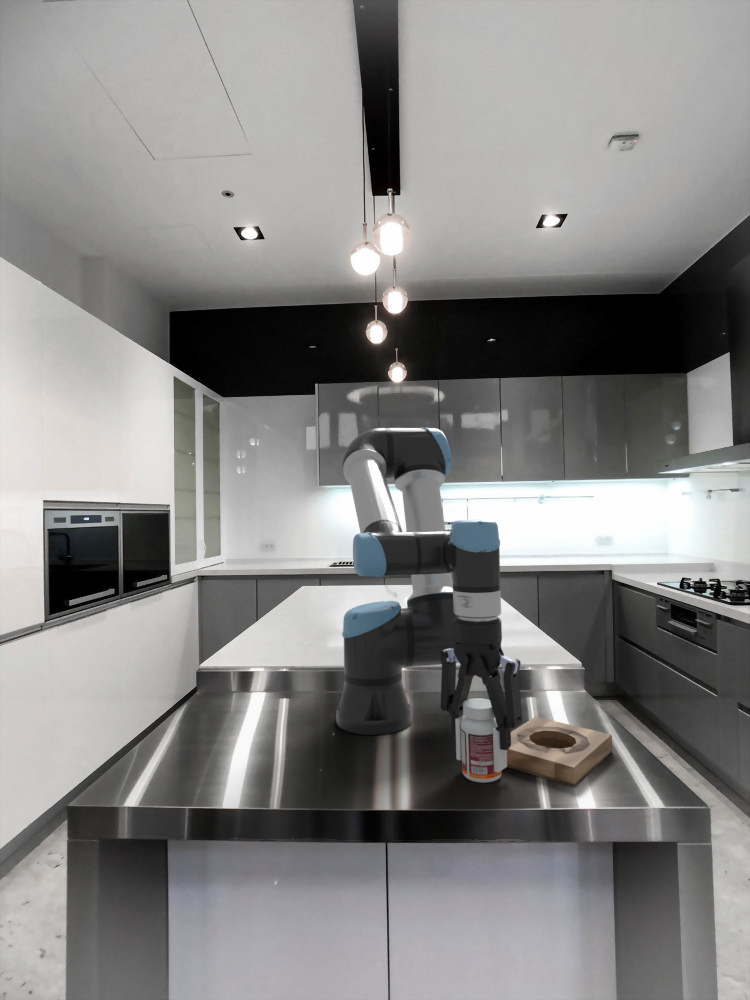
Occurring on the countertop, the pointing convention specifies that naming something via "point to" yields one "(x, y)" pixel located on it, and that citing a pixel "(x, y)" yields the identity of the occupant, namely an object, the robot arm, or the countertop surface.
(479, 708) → the pill bottle
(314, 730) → the countertop surface
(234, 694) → the countertop surface
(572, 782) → the socket block
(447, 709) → the robot arm
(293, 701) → the countertop surface
